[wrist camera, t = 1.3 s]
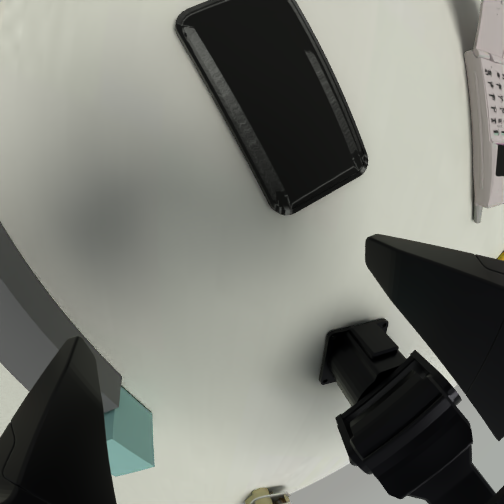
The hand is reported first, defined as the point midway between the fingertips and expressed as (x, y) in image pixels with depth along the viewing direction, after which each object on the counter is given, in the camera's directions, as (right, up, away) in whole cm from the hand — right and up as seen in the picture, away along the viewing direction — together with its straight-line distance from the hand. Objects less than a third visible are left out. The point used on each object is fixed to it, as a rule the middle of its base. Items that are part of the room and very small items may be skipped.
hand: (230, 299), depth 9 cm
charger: (-12, -12, +15) cm, 22 cm away
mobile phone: (+23, +16, +13) cm, 31 cm away
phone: (+2, +12, +10) cm, 15 cm away
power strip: (-17, -2, +10) cm, 20 cm away
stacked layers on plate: (+2, -36, +30) cm, 47 cm away
